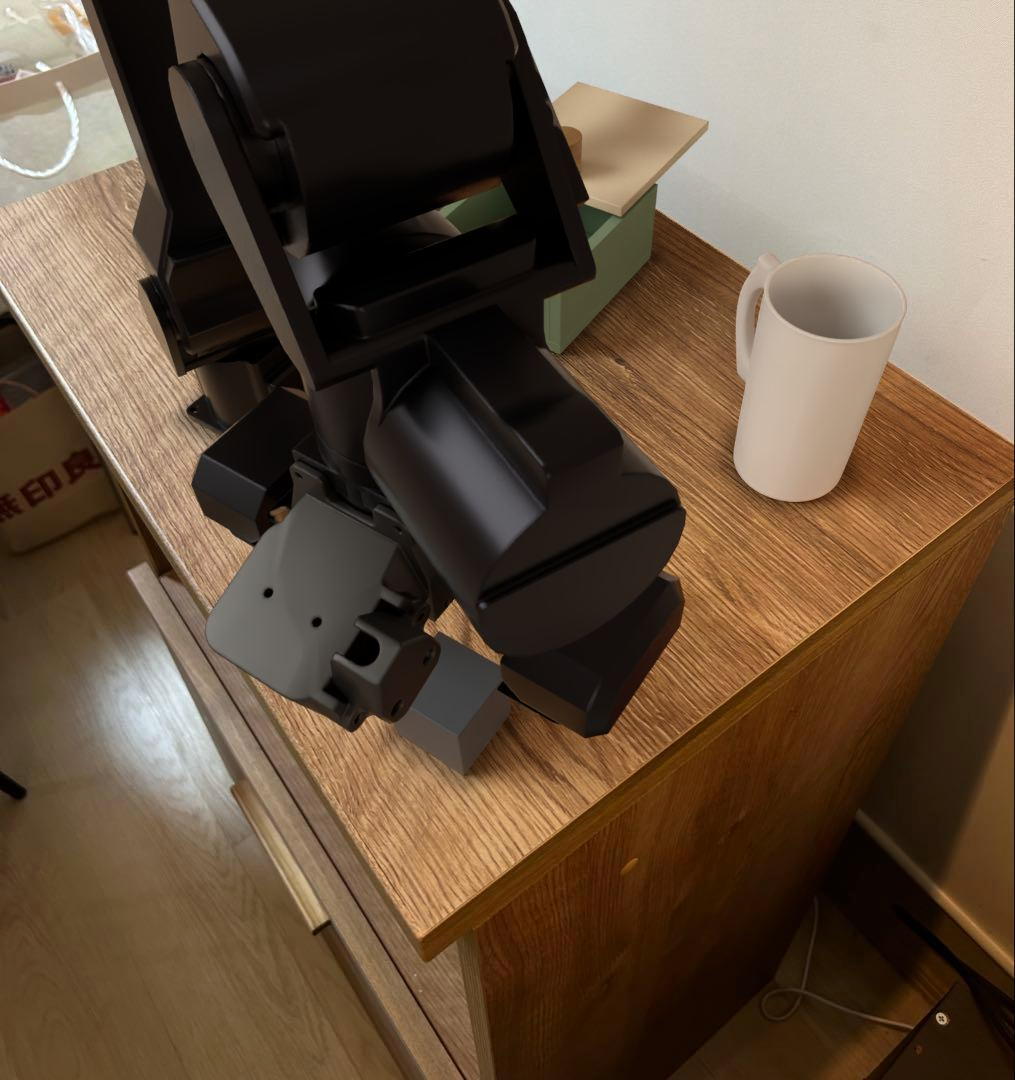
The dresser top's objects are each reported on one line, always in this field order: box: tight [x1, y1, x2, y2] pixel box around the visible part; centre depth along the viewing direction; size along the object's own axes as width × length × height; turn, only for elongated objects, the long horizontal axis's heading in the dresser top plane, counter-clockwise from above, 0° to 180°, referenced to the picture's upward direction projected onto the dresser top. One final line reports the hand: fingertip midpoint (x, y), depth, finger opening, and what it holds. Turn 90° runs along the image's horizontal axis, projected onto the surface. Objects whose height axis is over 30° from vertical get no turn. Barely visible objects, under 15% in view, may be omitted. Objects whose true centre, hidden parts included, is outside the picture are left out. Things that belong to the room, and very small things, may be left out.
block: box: [394, 630, 512, 776], centre depth 46 cm, size 4×4×4 cm
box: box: [438, 182, 659, 355], centre depth 66 cm, size 11×12×6 cm
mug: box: [732, 252, 908, 503], centre depth 53 cm, size 10×7×12 cm, turn 25°
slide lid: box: [551, 81, 710, 217], centre depth 66 cm, size 11×12×3 cm
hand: (444, 659), depth 43 cm, fingers open, 9 cm apart
